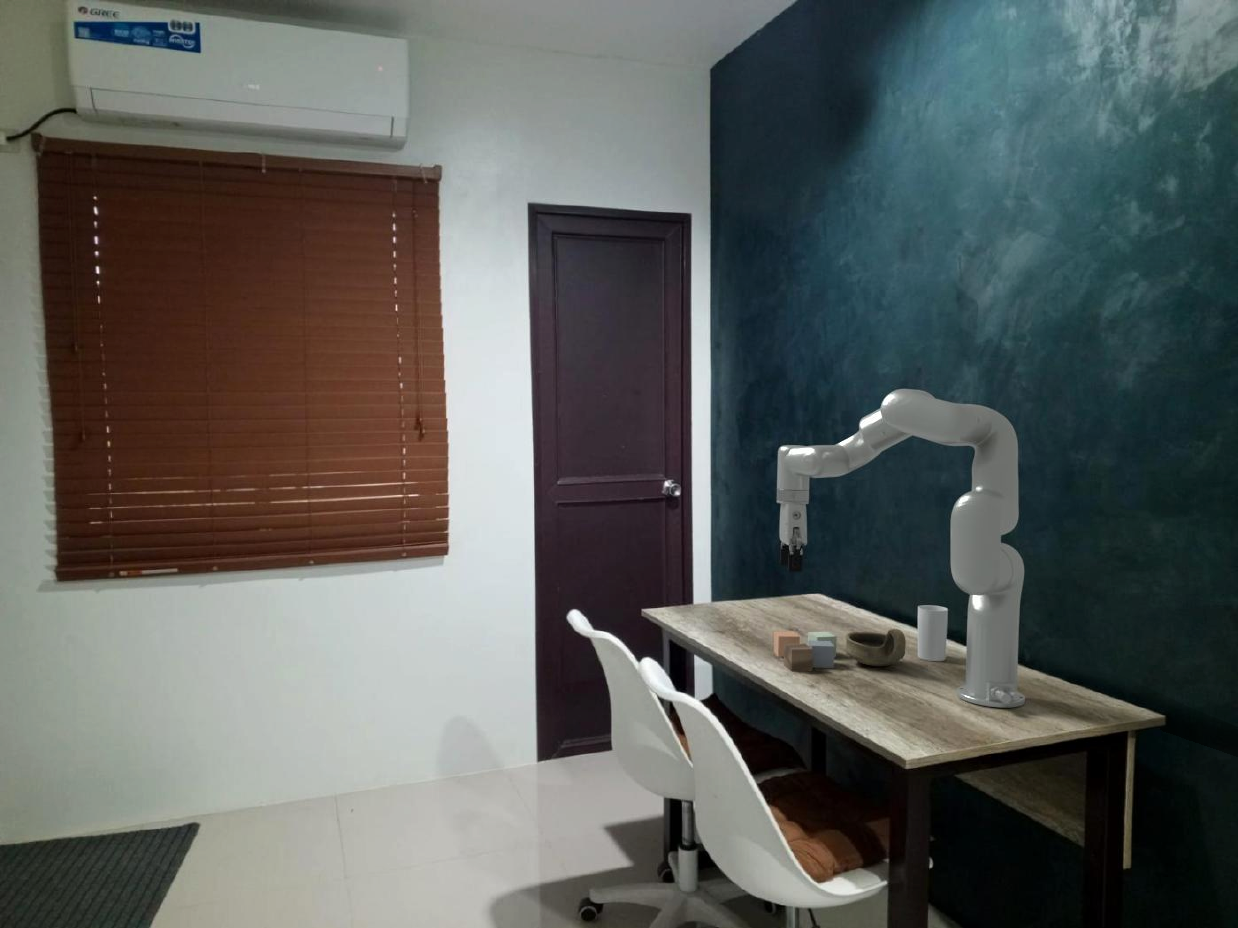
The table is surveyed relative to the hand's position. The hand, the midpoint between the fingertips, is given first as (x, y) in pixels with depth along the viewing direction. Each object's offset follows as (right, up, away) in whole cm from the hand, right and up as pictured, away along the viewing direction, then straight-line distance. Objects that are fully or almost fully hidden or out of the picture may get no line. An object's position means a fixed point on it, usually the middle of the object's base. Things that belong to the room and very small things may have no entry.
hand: (790, 567), depth 207 cm
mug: (+33, -21, 0) cm, 39 cm away
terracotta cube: (-1, -21, 0) cm, 21 cm away
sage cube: (+8, -21, +1) cm, 22 cm away
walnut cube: (-1, -21, -12) cm, 24 cm away
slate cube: (+5, -21, -8) cm, 24 cm away
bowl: (+18, -22, -9) cm, 30 cm away
